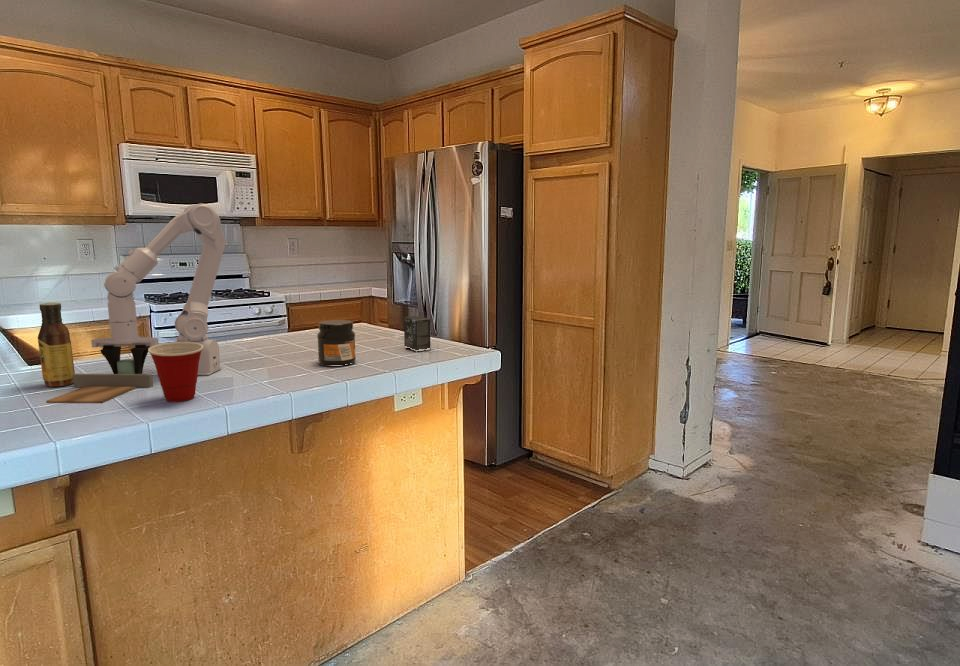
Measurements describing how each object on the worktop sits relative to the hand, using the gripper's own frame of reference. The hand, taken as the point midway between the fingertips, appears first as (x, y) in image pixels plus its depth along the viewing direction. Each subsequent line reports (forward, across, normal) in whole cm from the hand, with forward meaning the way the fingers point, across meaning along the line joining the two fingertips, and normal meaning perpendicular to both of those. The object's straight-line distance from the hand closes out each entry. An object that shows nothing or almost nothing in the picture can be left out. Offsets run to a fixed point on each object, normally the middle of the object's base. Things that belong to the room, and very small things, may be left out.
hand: (128, 374), depth 140 cm
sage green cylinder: (+1, 0, 0) cm, 1 cm away
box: (+2, -72, -34) cm, 80 cm away
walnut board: (+1, +2, +13) cm, 14 cm away
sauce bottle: (+2, +14, +3) cm, 15 cm away
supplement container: (+2, -49, -15) cm, 52 cm away
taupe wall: (+1, +1, +6) cm, 6 cm away
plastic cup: (+2, -19, +18) cm, 26 cm away
